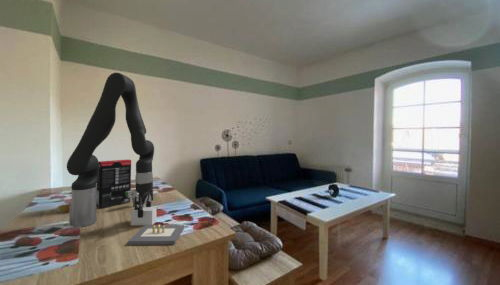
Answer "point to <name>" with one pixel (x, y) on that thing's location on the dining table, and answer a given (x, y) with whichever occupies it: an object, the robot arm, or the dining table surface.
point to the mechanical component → (132, 195)
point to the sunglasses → (64, 208)
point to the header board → (157, 235)
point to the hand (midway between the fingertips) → (144, 213)
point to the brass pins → (158, 229)
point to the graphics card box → (113, 183)
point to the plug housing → (144, 216)
